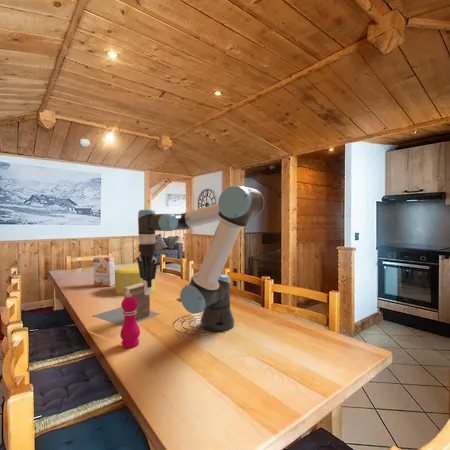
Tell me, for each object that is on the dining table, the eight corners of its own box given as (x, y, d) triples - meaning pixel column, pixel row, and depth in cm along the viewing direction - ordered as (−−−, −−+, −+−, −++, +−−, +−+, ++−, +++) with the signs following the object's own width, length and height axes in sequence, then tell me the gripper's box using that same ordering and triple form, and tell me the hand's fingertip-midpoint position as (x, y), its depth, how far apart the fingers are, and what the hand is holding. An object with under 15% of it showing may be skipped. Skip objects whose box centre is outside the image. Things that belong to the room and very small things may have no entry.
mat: (160, 314, 145) (160, 313, 145) (124, 328, 128) (124, 326, 128) (128, 305, 160) (128, 304, 160) (92, 316, 143) (92, 315, 143)
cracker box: (93, 285, 208) (92, 257, 207) (99, 284, 213) (98, 255, 213) (109, 287, 204) (109, 257, 203) (115, 285, 209) (114, 256, 209)
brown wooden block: (150, 315, 142) (150, 283, 141) (129, 323, 132) (129, 288, 131) (144, 314, 144) (144, 282, 144) (124, 321, 134) (123, 287, 134)
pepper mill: (133, 339, 116) (132, 289, 115) (144, 344, 111) (143, 292, 111) (116, 345, 110) (115, 293, 110) (127, 351, 106) (126, 297, 105)
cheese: (160, 285, 208) (159, 264, 207) (146, 295, 182) (146, 271, 181) (125, 284, 210) (125, 264, 210) (107, 294, 184) (107, 271, 184)
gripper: (131, 243, 133) (132, 293, 134) (149, 244, 126) (150, 298, 126) (144, 241, 139) (145, 290, 140) (162, 243, 132) (163, 294, 132)
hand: (147, 294), depth 133 cm, fingers closed
